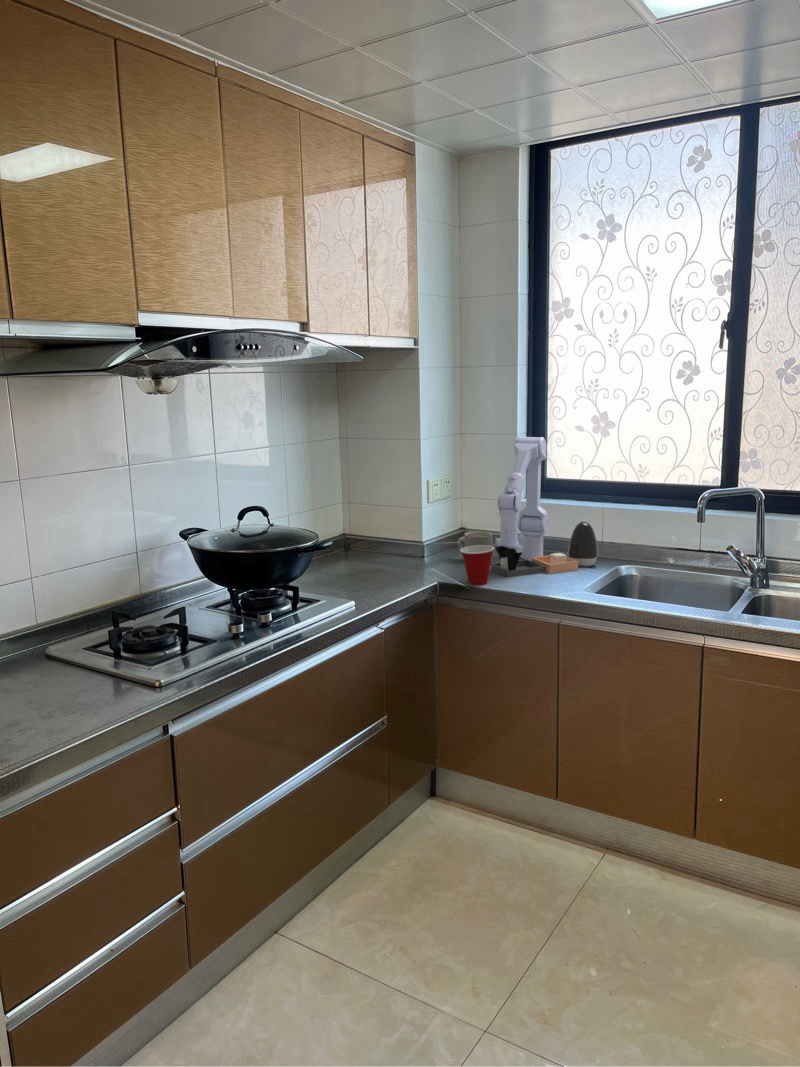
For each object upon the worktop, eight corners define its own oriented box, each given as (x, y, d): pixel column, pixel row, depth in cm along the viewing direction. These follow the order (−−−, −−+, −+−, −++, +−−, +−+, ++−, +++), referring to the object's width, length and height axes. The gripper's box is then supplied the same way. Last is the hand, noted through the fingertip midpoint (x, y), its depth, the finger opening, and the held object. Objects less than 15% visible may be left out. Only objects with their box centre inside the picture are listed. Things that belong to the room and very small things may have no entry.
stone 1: (500, 571, 267) (500, 558, 266) (510, 569, 268) (511, 556, 267) (506, 573, 263) (506, 560, 262) (517, 572, 264) (517, 559, 264)
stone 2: (549, 566, 271) (550, 553, 271) (559, 565, 273) (560, 552, 272) (556, 569, 268) (556, 556, 267) (566, 568, 269) (566, 555, 268)
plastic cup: (462, 579, 260) (462, 543, 257) (495, 580, 258) (495, 544, 255) (457, 588, 249) (457, 550, 247) (492, 589, 247) (492, 551, 245)
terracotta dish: (531, 567, 273) (531, 557, 272) (559, 564, 277) (559, 554, 276) (549, 575, 263) (549, 564, 262) (578, 571, 267) (578, 561, 266)
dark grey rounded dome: (595, 561, 280) (596, 519, 277) (599, 569, 270) (601, 524, 267) (565, 561, 281) (566, 519, 278) (569, 568, 271) (570, 524, 268)
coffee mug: (498, 561, 282) (498, 534, 280) (478, 566, 276) (478, 538, 274) (471, 555, 292) (471, 528, 290) (451, 560, 286) (451, 532, 284)
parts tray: (490, 571, 269) (490, 563, 269) (527, 566, 275) (527, 559, 274) (507, 579, 259) (507, 571, 259) (545, 574, 264) (545, 566, 264)
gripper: (487, 526, 268) (487, 565, 270) (509, 534, 255) (509, 575, 257) (506, 524, 270) (505, 563, 273) (528, 532, 257) (528, 573, 260)
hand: (508, 569), depth 265 cm, fingers closed on stone 1, 4 cm apart
